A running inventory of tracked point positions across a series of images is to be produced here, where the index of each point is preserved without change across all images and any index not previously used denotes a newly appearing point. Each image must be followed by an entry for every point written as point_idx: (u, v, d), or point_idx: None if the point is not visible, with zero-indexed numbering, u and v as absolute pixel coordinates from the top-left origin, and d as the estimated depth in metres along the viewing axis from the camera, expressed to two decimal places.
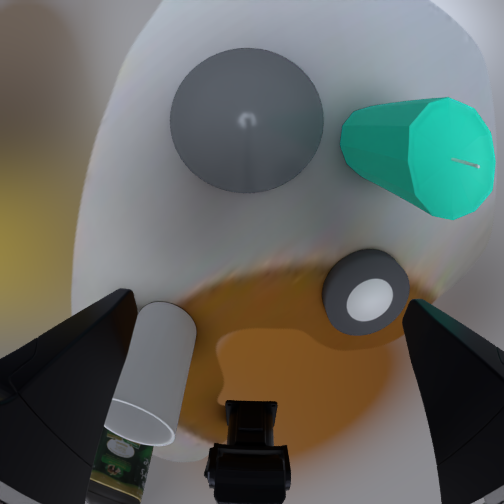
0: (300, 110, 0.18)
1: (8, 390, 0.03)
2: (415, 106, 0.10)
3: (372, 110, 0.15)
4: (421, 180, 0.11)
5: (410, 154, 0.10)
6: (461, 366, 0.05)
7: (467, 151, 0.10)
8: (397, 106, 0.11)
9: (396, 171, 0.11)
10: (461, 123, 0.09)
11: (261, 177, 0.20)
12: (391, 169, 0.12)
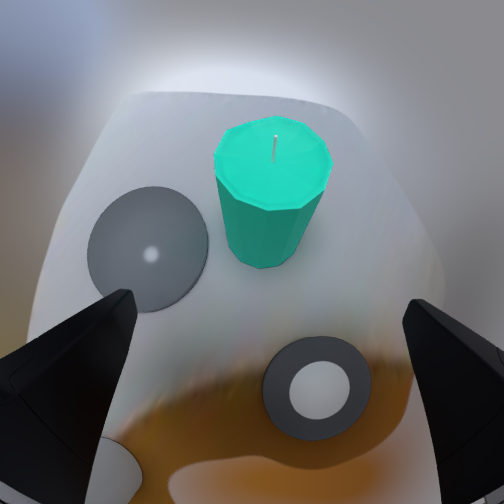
0: (184, 225, 0.22)
1: (7, 390, 0.03)
2: None
3: None
4: (243, 189, 0.13)
5: (217, 170, 0.13)
6: (461, 366, 0.05)
7: (288, 150, 0.14)
8: None
9: (226, 200, 0.14)
10: (271, 133, 0.14)
11: (161, 292, 0.21)
12: (227, 205, 0.15)
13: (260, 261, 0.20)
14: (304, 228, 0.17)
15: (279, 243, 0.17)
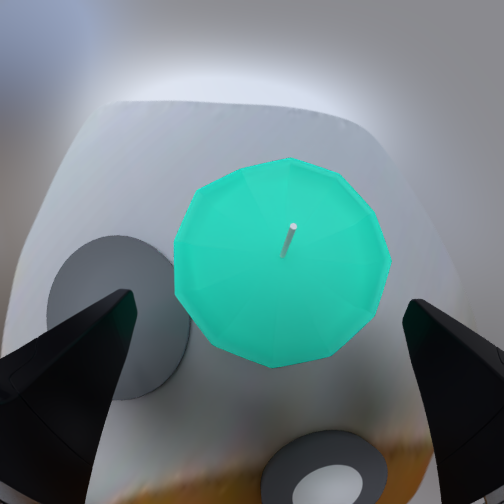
0: (158, 294, 0.16)
1: (7, 390, 0.03)
2: None
3: None
4: (227, 317, 0.07)
5: (177, 282, 0.07)
6: (461, 366, 0.05)
7: (310, 228, 0.08)
8: None
9: None
10: (279, 193, 0.08)
11: (134, 380, 0.15)
12: None
13: None
14: None
15: None
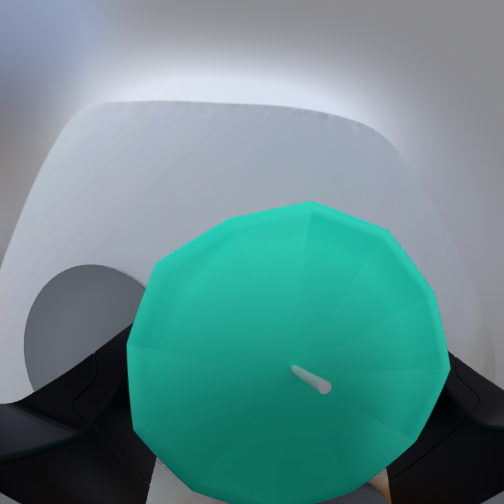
0: None
1: (75, 421, 0.03)
2: None
3: None
4: (212, 454, 0.04)
5: (136, 411, 0.04)
6: None
7: (340, 322, 0.05)
8: None
9: None
10: (292, 262, 0.05)
11: None
12: None
13: None
14: None
15: None
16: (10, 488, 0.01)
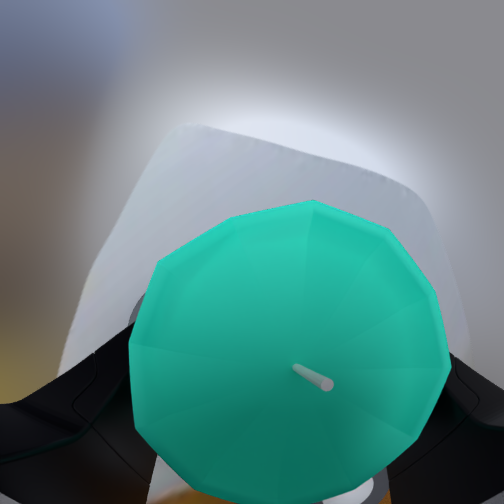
0: None
1: (75, 421, 0.03)
2: None
3: None
4: (213, 452, 0.04)
5: (137, 410, 0.04)
6: None
7: (341, 321, 0.05)
8: None
9: None
10: (294, 260, 0.05)
11: None
12: None
13: None
14: None
15: None
16: (10, 488, 0.01)
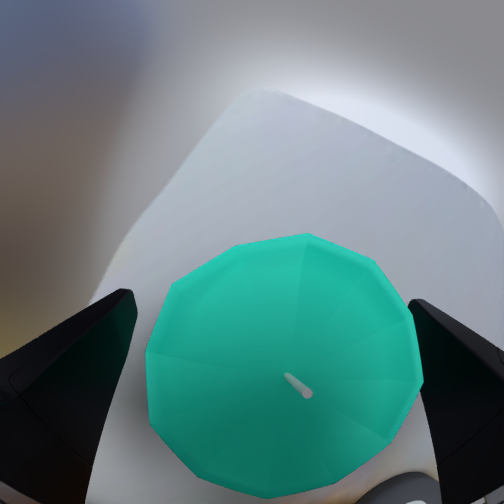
0: None
1: (7, 390, 0.03)
2: None
3: None
4: (215, 445, 0.05)
5: (152, 409, 0.05)
6: (461, 366, 0.05)
7: (327, 338, 0.06)
8: None
9: None
10: (289, 285, 0.06)
11: None
12: None
13: None
14: None
15: None
16: None
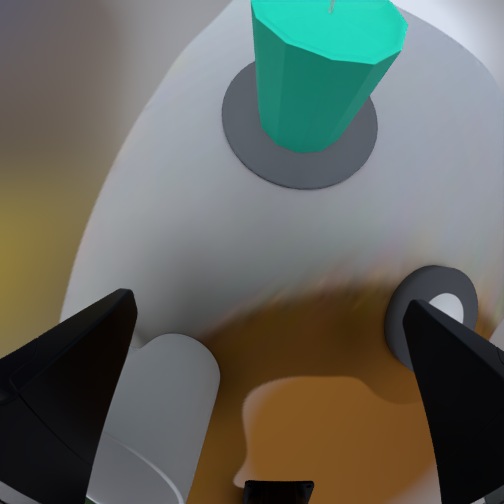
0: None
1: (7, 390, 0.03)
2: None
3: None
4: (294, 36, 0.07)
5: (257, 13, 0.07)
6: (461, 366, 0.05)
7: (348, 4, 0.07)
8: None
9: (269, 52, 0.08)
10: None
11: (319, 170, 0.17)
12: (268, 60, 0.09)
13: (302, 142, 0.15)
14: (362, 103, 0.11)
15: (332, 116, 0.12)
16: None
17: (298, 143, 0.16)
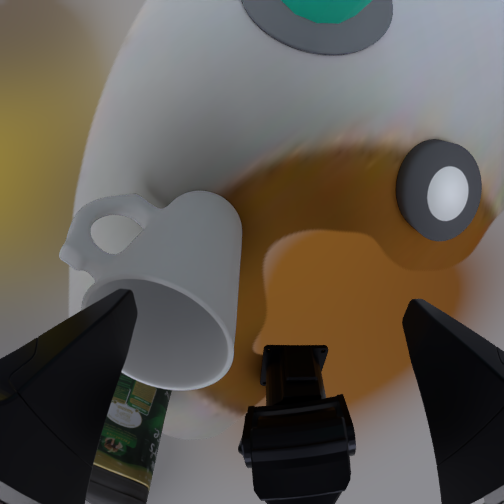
0: None
1: (7, 390, 0.03)
2: None
3: None
4: None
5: None
6: (461, 366, 0.05)
7: None
8: None
9: None
10: None
11: (337, 39, 0.14)
12: None
13: (324, 13, 0.11)
14: None
15: None
16: None
17: (319, 14, 0.12)
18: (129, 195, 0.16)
